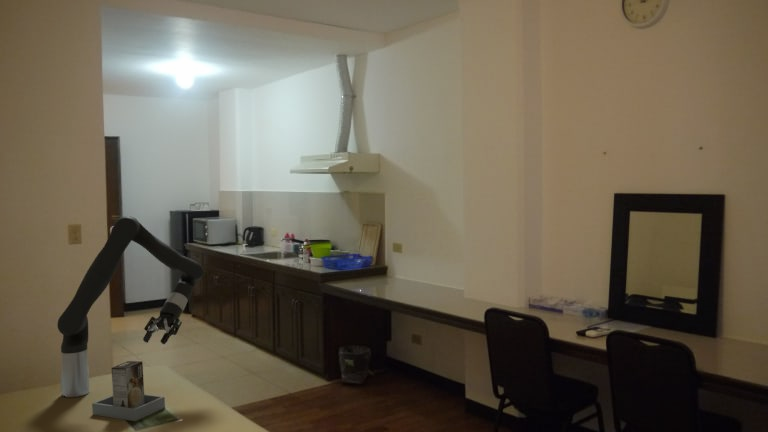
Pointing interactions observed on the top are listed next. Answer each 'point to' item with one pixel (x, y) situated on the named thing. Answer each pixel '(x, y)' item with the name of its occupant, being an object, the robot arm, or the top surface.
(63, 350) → the robot arm
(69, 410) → the top surface
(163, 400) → the tray
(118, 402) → the coffee box
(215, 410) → the top surface
